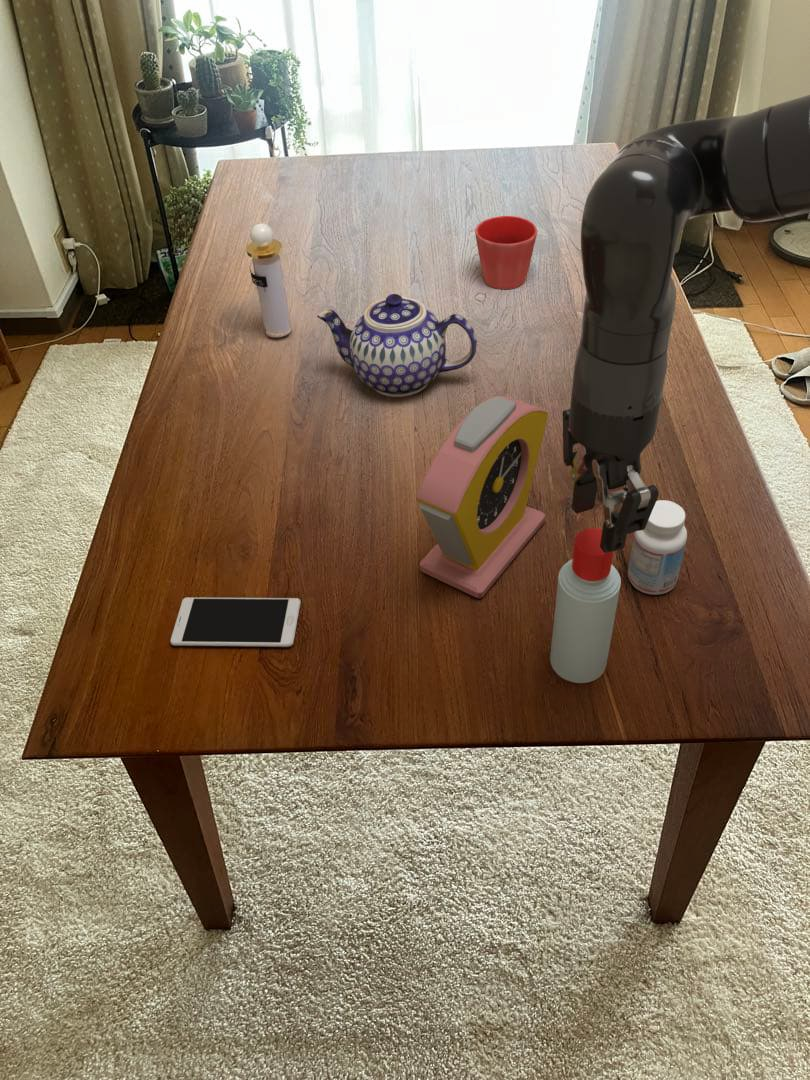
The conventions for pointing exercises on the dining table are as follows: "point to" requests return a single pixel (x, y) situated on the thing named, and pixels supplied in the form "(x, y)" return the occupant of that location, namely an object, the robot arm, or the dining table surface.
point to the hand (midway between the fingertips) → (597, 528)
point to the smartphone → (236, 622)
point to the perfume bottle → (269, 279)
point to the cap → (590, 556)
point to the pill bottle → (658, 550)
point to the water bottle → (583, 624)
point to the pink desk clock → (483, 494)
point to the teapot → (397, 345)
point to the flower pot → (505, 250)
